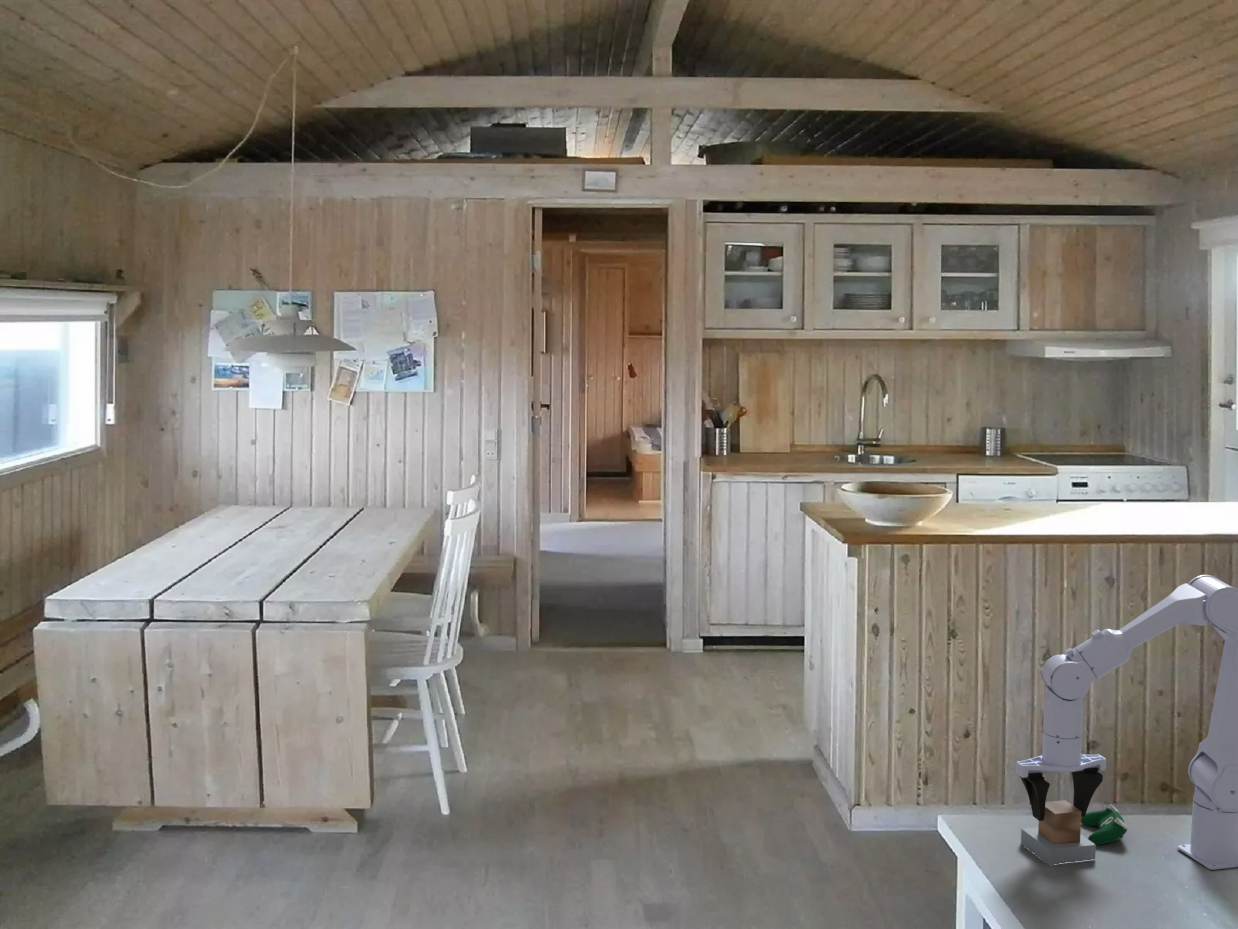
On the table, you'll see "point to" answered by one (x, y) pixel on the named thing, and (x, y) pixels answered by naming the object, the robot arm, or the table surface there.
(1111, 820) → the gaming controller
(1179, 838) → the table surface
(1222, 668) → the robot arm
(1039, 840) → the slate block
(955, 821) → the table surface
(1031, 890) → the table surface
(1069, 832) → the walnut block
